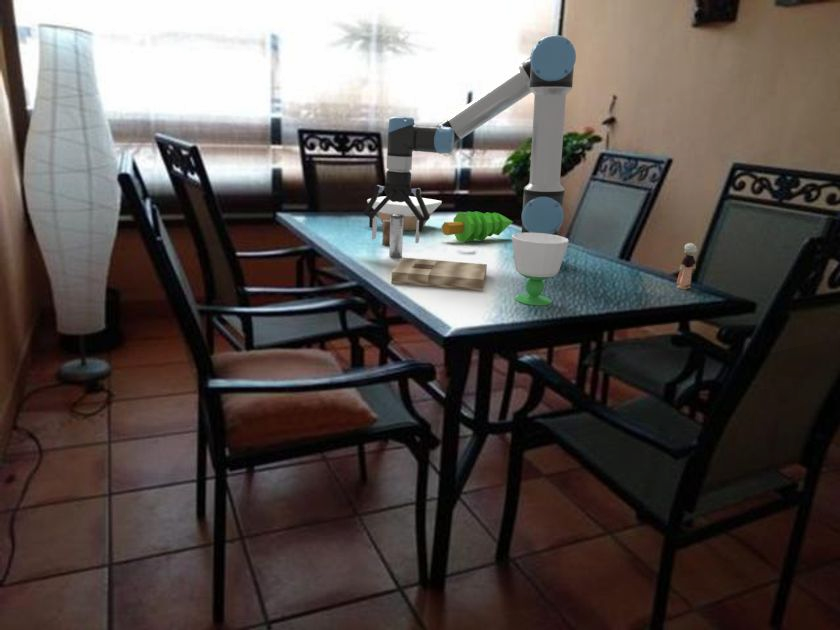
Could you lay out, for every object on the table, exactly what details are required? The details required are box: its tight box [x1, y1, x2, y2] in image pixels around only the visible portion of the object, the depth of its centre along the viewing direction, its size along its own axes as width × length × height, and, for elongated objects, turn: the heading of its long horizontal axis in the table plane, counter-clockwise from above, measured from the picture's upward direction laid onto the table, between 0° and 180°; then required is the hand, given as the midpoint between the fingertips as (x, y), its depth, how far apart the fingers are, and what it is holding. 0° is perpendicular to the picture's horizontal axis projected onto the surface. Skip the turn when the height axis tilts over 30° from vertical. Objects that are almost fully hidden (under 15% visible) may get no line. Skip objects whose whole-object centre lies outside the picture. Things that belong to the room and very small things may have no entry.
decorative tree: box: [441, 210, 514, 243], centre depth 230 cm, size 11×12×30 cm
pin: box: [388, 214, 404, 259], centre depth 196 cm, size 4×4×13 cm
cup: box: [511, 232, 570, 307], centre depth 156 cm, size 14×14×16 cm
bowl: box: [366, 195, 443, 231], centre depth 249 cm, size 24×25×11 cm
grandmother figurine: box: [676, 242, 698, 290], centre depth 176 cm, size 8×4×13 cm, turn 141°
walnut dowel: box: [382, 220, 390, 246], centre depth 215 cm, size 4×4×8 cm
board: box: [390, 257, 488, 292], centre depth 174 cm, size 24×18×3 cm
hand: (395, 240), depth 197 cm, fingers open, 13 cm apart
